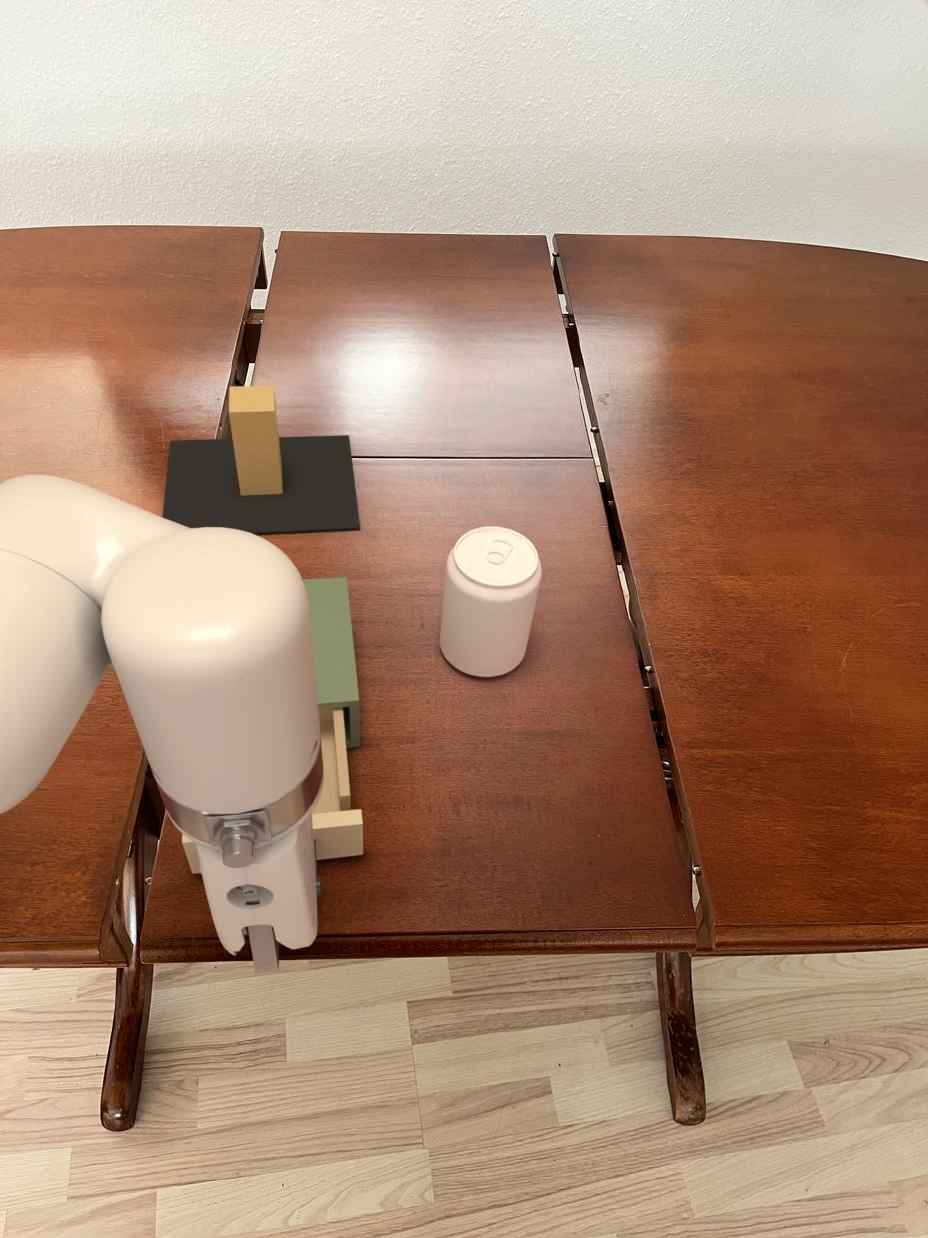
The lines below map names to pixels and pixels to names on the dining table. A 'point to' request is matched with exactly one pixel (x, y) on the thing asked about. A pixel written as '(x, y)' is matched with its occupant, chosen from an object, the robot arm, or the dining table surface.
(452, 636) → the beverage can
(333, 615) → the cabinet
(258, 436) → the box
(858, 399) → the dining table surface
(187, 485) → the mat
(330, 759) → the drawer
